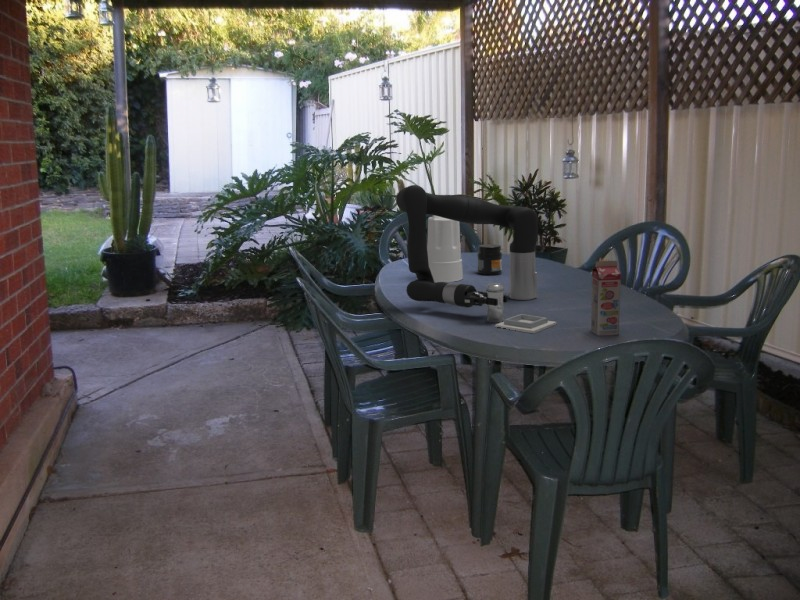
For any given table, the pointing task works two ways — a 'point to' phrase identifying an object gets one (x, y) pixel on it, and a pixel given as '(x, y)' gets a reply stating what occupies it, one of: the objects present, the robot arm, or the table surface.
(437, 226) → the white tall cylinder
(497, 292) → the grey canister
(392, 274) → the table surface
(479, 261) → the supplement container
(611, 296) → the juice carton
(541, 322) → the duct flange
